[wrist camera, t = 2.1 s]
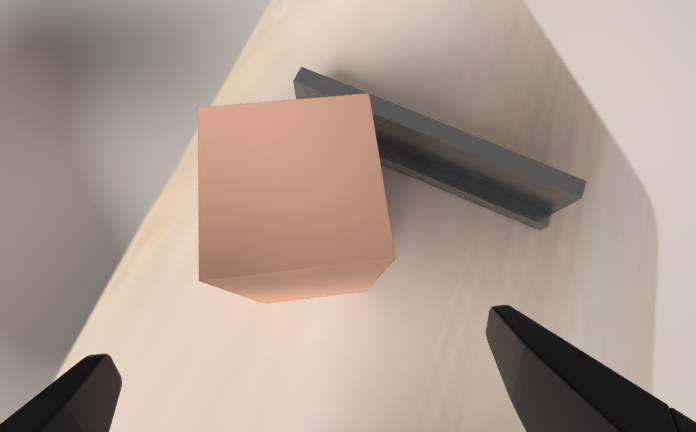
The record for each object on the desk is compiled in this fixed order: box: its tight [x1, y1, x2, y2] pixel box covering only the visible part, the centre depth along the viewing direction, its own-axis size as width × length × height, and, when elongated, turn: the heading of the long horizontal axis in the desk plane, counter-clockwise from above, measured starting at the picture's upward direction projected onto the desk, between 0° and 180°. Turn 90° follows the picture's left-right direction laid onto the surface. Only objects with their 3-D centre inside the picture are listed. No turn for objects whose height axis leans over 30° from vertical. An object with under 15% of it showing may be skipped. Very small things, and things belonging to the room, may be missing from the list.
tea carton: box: [198, 93, 396, 304], centre depth 16 cm, size 6×6×10 cm
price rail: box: [293, 67, 586, 230], centre depth 21 cm, size 2×16×4 cm, turn 66°
